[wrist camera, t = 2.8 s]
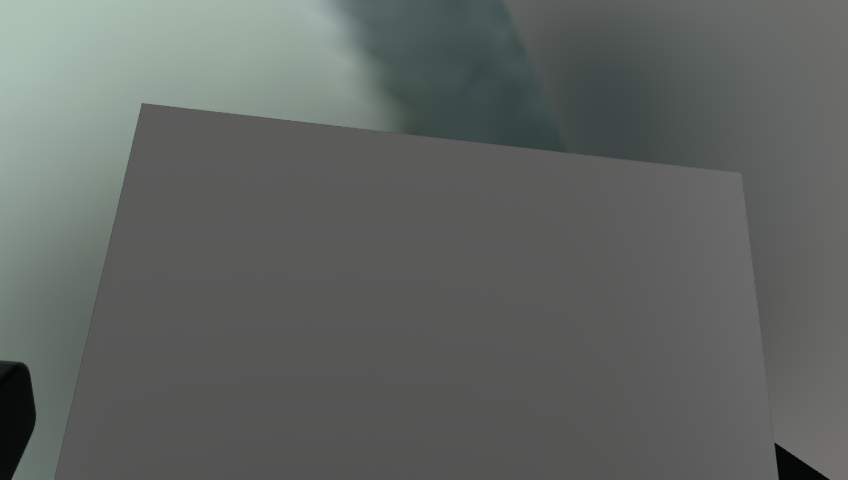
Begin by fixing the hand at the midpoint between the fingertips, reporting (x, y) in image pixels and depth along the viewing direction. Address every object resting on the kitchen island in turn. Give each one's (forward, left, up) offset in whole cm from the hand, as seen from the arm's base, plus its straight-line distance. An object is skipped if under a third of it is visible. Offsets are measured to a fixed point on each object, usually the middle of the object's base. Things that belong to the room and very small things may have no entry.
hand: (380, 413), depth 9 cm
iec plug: (0, 0, -8) cm, 8 cm away
